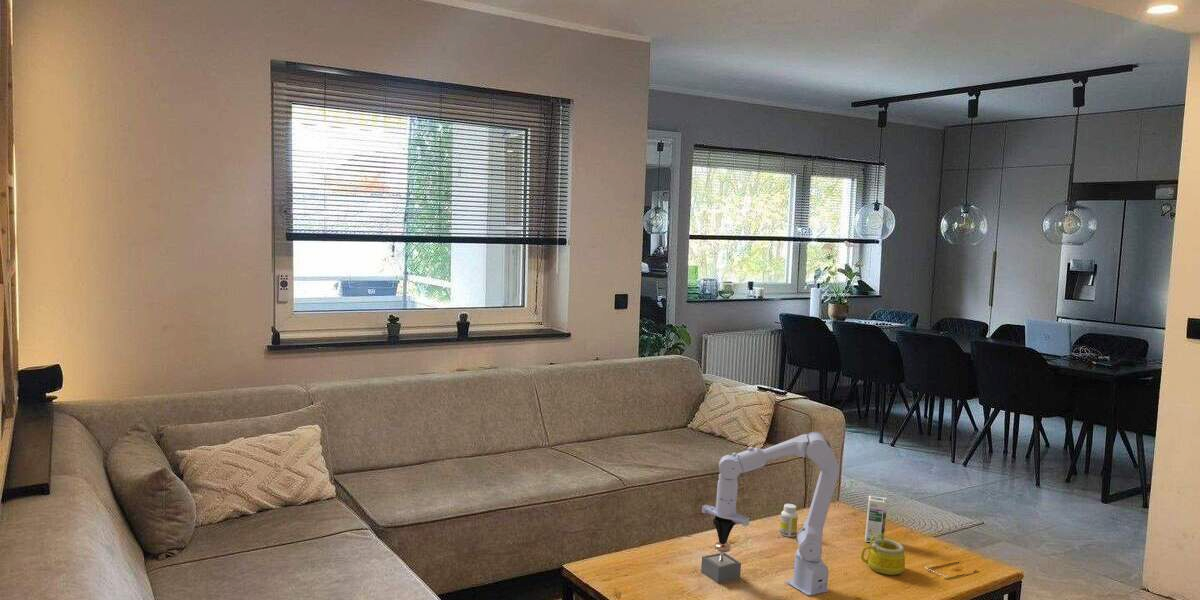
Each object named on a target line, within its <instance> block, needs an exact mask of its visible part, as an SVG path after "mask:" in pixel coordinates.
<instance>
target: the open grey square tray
mask: <svg viewBox="0 0 1200 600" xmlns="http://www.w3.org/2000/svg"><path fill="white" fill-rule="evenodd" d="M719 555H720V552H718V553H712V554H710V555H702V556H701V569H700V570H701V571H700V573H702V574H703V575H705V576H706V577H707V578H709V579H710V580H712V581H713V582H715V583H716V584H723V583H726V582H731V581H736V580H740V579H741V570H742V562H740V561H739V560H737V559H735V558H734V557H732V556H731V555H729V554H728V553H727V552H724V555H725V556H726V557H728V558H730V559H731V560H733V561H734V562H736V563H733V564H728V565H723V566H718V565H717V564H715V563H714V562H712V561H711V560H709V559H708V557H713V556H719Z"/></svg>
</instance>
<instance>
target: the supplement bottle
mask: <svg viewBox="0 0 1200 600" xmlns="http://www.w3.org/2000/svg"><path fill="white" fill-rule="evenodd" d="M798 517H799V515H798V513H797V505H795V504H793V503H785V504H784V505H783V510H782V511H781V512H780V521H779V522H780V523H779V524H780V525H779V534H780V535H781V536H783V537H786V538H793V537H795V536H796V537H797V528H798Z"/></svg>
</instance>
